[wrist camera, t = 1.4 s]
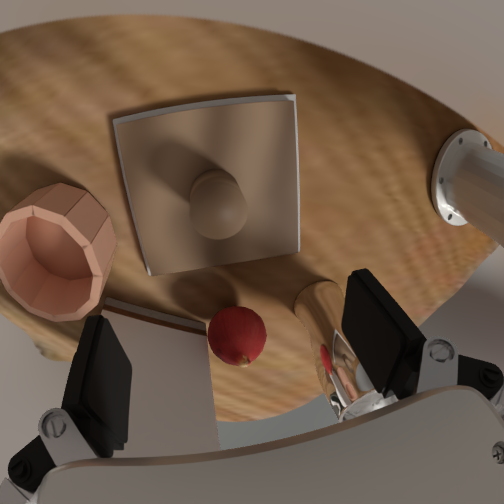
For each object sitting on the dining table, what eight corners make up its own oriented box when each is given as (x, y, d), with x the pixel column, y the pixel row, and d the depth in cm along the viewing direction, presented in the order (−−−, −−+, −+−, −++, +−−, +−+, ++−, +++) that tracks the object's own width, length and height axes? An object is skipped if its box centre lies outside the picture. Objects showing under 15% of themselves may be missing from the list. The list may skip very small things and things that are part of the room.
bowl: (99, 170, 22) (75, 192, 17) (129, 275, 28) (119, 315, 23) (9, 198, 21) (-23, 223, 16) (45, 288, 27) (25, 324, 21)
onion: (240, 335, 34) (252, 390, 28) (196, 320, 32) (200, 378, 25) (268, 300, 32) (287, 355, 26) (222, 282, 30) (232, 339, 23)
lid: (290, 100, 22) (314, 102, 17) (295, 247, 29) (314, 279, 24) (119, 123, 20) (98, 131, 16) (152, 270, 28) (146, 307, 23)
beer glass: (278, 301, 33) (323, 418, 20) (330, 265, 32) (401, 370, 19) (307, 332, 36) (351, 433, 23) (353, 300, 35) (414, 395, 22)
